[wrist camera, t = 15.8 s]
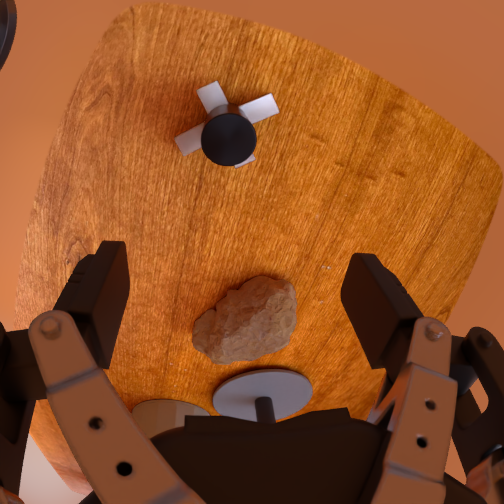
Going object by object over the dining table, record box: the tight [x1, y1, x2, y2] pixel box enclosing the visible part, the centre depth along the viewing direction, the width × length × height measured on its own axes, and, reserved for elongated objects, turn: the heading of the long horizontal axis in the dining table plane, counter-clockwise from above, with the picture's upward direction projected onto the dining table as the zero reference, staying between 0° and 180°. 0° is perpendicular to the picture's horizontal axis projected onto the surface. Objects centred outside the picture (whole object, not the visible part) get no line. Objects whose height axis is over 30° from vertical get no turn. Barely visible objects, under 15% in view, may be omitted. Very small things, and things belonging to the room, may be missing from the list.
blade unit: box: [174, 80, 280, 169], centre depth 19 cm, size 8×6×7 cm
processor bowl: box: [132, 399, 210, 439], centre depth 39 cm, size 13×13×10 cm
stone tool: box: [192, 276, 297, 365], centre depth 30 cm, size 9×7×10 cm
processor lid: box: [213, 369, 312, 424], centre depth 38 cm, size 14×14×7 cm
